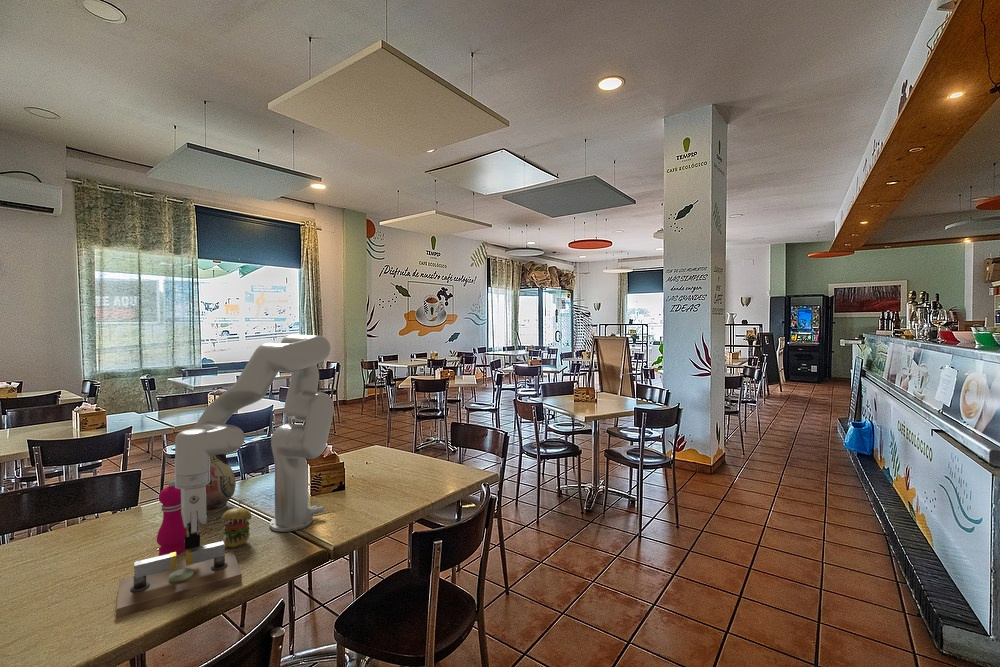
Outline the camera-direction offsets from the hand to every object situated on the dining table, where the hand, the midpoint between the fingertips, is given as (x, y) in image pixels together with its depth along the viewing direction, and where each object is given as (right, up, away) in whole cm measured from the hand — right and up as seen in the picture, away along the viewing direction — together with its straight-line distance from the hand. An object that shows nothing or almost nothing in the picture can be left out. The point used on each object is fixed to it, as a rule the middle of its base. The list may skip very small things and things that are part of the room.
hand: (192, 549), depth 121 cm
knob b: (-3, -3, -9) cm, 10 cm away
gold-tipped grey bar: (+5, -3, -3) cm, 7 cm away
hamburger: (+3, -6, +15) cm, 16 cm away
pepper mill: (-12, -6, +10) cm, 17 cm away
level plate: (+1, -6, -6) cm, 9 cm away
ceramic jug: (-19, -5, +39) cm, 43 cm away
